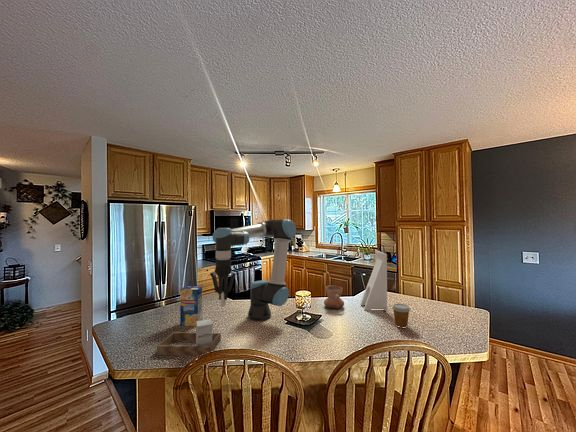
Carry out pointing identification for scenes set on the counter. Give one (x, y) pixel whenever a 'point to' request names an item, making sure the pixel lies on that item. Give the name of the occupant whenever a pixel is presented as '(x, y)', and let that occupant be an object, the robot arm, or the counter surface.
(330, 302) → the ceramic jug
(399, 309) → the disposable coffee cup
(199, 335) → the supplement box
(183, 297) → the beverage box
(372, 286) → the grey tall wedge
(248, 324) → the counter surface
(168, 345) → the frame
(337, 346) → the counter surface
